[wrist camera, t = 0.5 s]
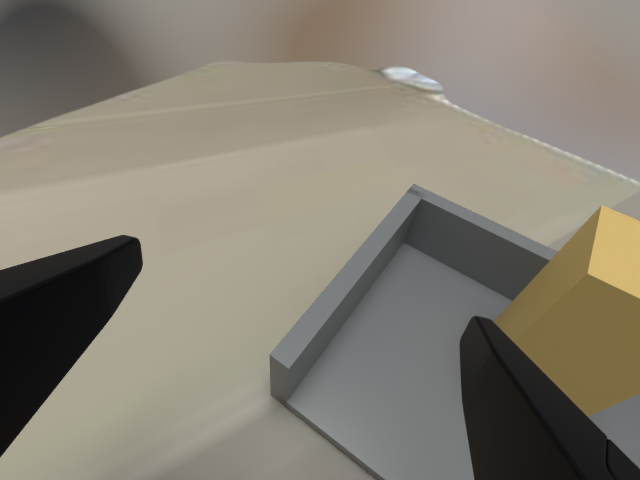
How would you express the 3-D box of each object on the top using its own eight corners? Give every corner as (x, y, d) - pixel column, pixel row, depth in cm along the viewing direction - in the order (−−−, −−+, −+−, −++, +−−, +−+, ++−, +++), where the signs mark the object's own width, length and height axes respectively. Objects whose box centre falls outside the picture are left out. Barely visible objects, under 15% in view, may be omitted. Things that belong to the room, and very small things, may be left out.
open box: (740, 767, 14) (948, 862, 10) (270, 395, 22) (269, 354, 18) (711, 404, 24) (808, 370, 20) (394, 235, 32) (413, 183, 28)
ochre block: (545, 435, 21) (742, 347, 12) (464, 384, 23) (587, 273, 14) (560, 368, 24) (728, 257, 15) (488, 327, 26) (601, 205, 17)
